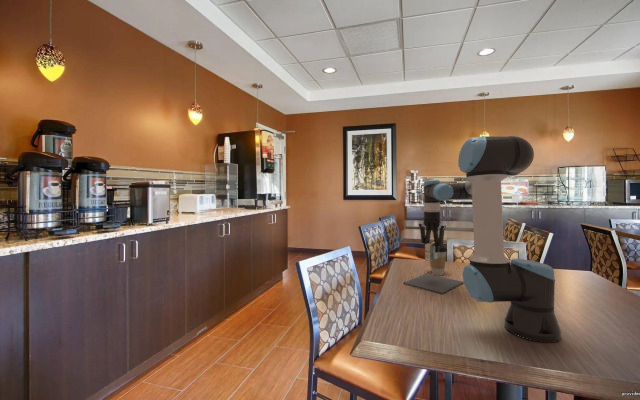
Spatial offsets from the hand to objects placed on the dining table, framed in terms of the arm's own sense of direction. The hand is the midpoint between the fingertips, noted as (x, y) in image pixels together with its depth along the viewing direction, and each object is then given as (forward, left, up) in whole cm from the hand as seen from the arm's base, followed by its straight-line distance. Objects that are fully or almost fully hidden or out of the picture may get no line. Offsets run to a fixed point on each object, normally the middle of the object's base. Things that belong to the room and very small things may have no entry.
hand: (432, 258), depth 148 cm
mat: (0, -1, -13) cm, 13 cm away
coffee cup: (+18, +6, -13) cm, 23 cm away
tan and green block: (0, 0, -1) cm, 1 cm away
